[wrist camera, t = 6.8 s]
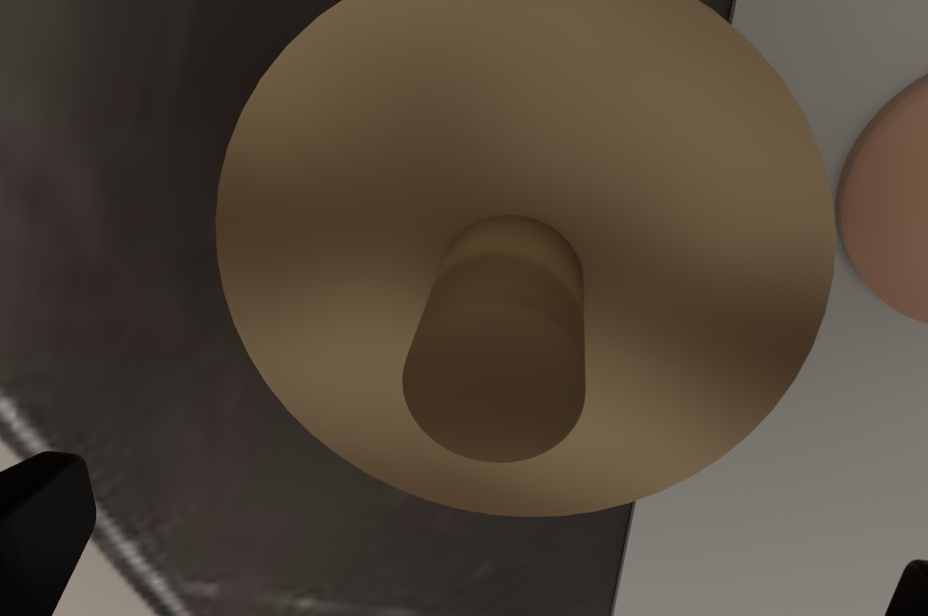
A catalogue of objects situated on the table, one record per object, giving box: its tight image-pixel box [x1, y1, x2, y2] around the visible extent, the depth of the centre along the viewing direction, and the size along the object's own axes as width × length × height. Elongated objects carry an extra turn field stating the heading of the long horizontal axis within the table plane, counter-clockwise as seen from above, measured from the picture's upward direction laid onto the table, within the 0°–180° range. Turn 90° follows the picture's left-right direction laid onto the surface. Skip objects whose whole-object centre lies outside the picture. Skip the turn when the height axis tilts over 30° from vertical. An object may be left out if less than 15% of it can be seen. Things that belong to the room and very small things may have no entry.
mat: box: [611, 0, 928, 616], centre depth 20 cm, size 12×20×1 cm, turn 177°
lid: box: [215, 0, 836, 517], centre depth 13 cm, size 11×11×4 cm
